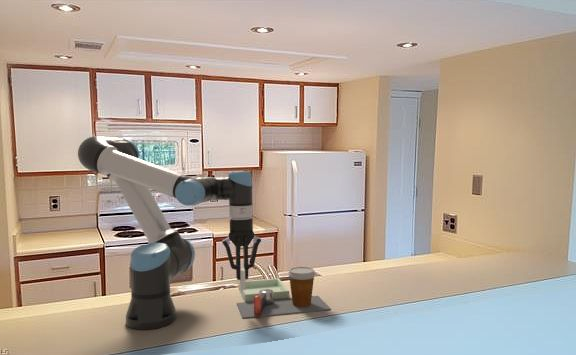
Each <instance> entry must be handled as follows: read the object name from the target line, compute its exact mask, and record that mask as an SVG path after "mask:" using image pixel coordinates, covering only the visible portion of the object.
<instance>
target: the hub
mask: <svg viewBox="0 0 576 355" xmlns="http://www.w3.org/2000/svg"><path fill="white" fill-rule="evenodd" d="M261 293H266V305H272V304H273V290H271V289H262V290H260V291H259V295H261Z"/></svg>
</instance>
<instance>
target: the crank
mask: <svg viewBox="0 0 576 355" xmlns="http://www.w3.org/2000/svg"><path fill="white" fill-rule="evenodd" d="M265 306H266V293H261V295H255V296H254V316H260V315H261V312H262V311H263V309H264V308H265Z"/></svg>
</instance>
